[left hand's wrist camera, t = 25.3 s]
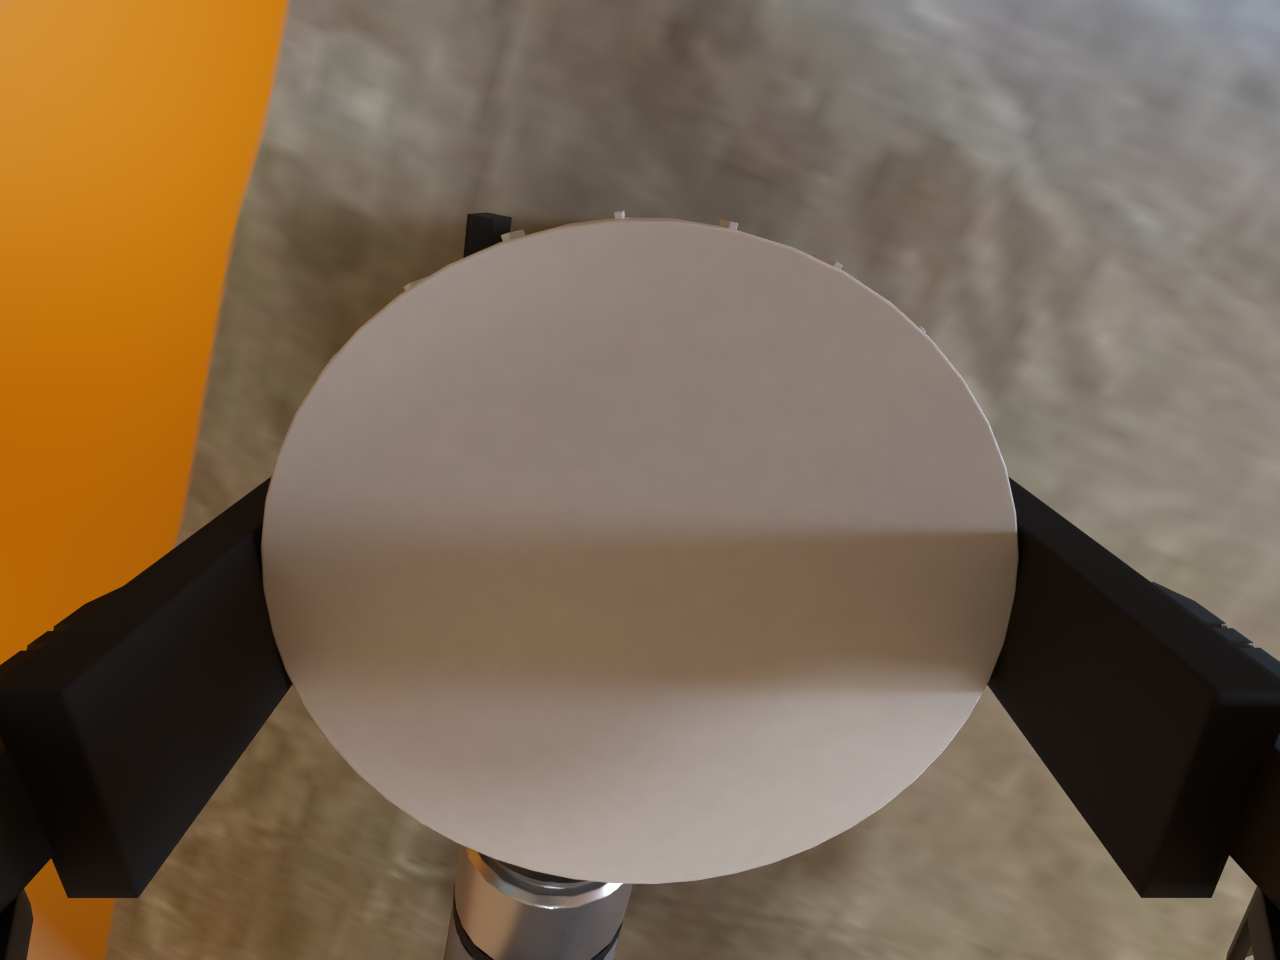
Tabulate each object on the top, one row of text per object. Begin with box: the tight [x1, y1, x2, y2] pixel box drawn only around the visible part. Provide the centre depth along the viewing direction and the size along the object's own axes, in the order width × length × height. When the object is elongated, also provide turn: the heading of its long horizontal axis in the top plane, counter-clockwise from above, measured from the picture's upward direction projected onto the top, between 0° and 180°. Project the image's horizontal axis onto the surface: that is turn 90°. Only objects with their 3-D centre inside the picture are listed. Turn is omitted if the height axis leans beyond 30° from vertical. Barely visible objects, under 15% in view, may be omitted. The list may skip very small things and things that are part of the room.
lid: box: [261, 211, 1019, 884], centre depth 11 cm, size 11×11×2 cm
